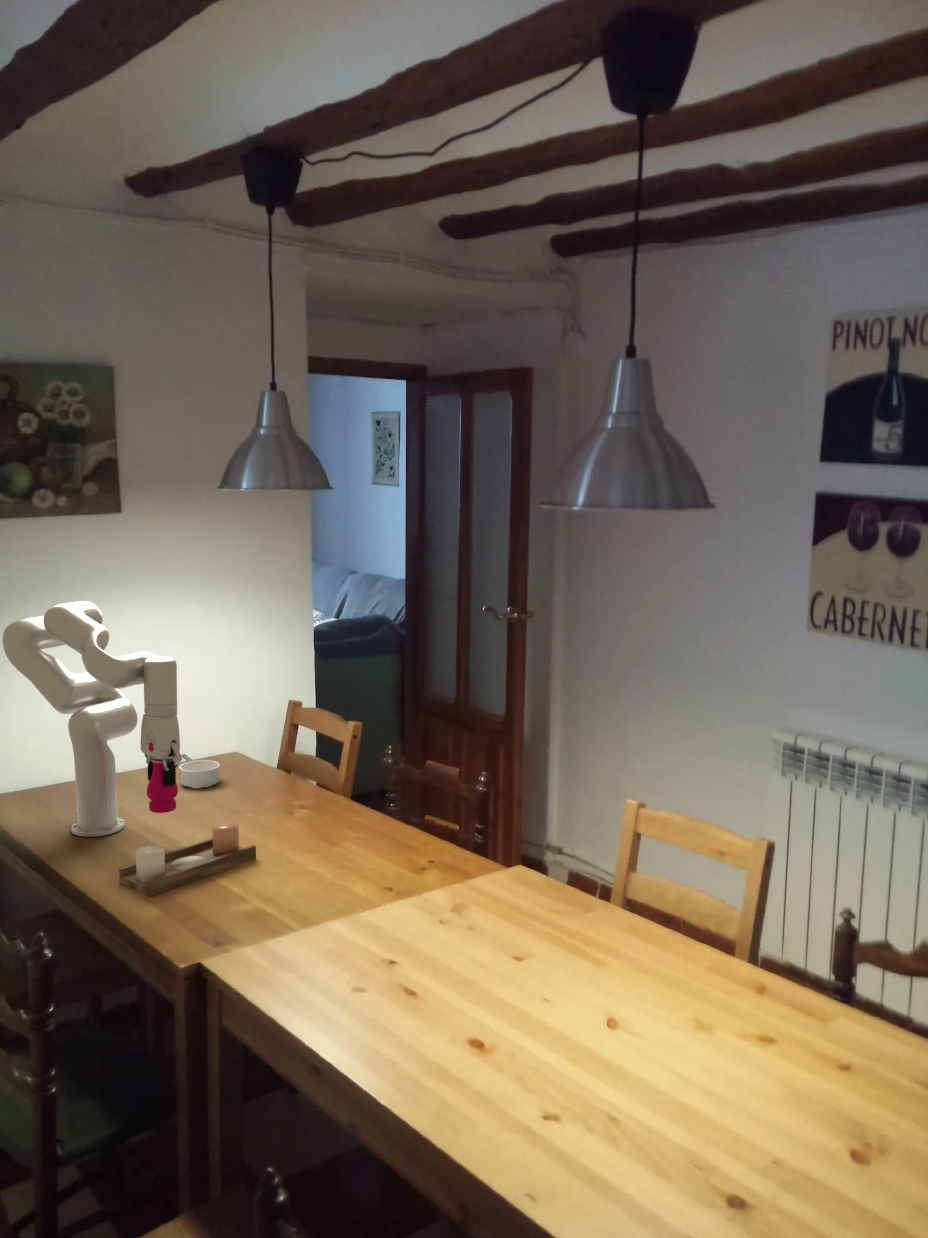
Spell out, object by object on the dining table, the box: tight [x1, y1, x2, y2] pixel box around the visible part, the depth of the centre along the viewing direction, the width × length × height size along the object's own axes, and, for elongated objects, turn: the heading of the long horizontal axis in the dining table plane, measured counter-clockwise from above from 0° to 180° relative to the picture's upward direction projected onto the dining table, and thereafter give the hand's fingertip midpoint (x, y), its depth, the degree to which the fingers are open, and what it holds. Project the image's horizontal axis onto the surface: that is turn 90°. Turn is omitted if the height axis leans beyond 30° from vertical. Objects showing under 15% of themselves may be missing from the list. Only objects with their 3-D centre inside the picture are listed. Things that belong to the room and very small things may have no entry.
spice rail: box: [118, 837, 257, 898], centre depth 225 cm, size 12×28×3 cm, turn 141°
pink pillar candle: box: [211, 821, 240, 856], centre depth 233 cm, size 6×6×6 cm
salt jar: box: [135, 845, 165, 883], centre depth 217 cm, size 6×6×6 cm
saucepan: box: [178, 753, 221, 788], centre depth 292 cm, size 12×20×6 cm, turn 34°
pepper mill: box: [146, 742, 179, 814], centre depth 239 cm, size 7×7×20 cm
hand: (161, 781), depth 240 cm, fingers closed on pepper mill, 5 cm apart
